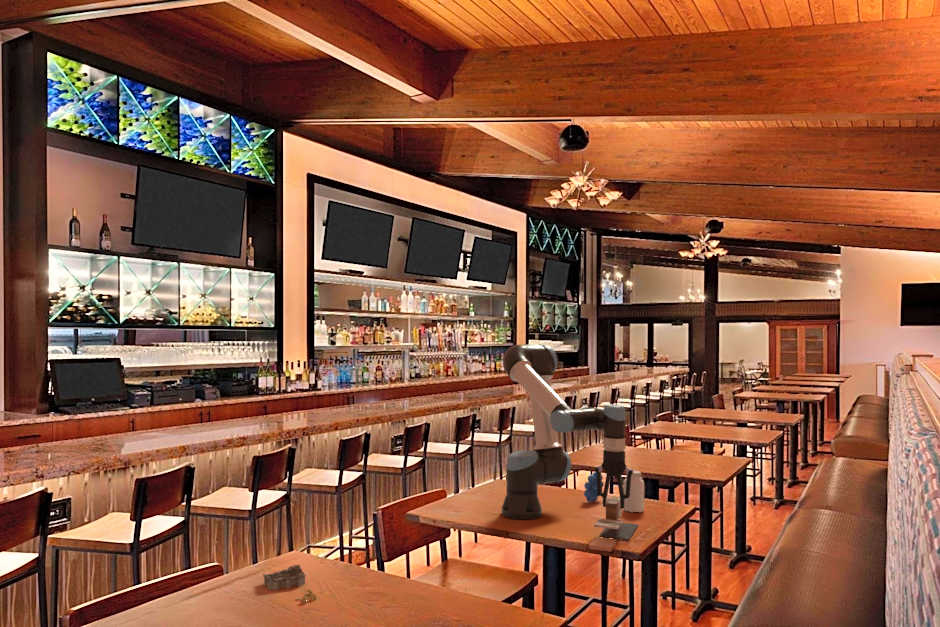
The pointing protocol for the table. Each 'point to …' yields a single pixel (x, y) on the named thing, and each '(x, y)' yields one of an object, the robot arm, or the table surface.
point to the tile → (602, 544)
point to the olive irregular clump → (307, 597)
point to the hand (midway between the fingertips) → (613, 516)
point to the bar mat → (620, 532)
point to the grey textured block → (285, 578)
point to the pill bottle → (635, 494)
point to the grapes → (592, 488)
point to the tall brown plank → (610, 515)
